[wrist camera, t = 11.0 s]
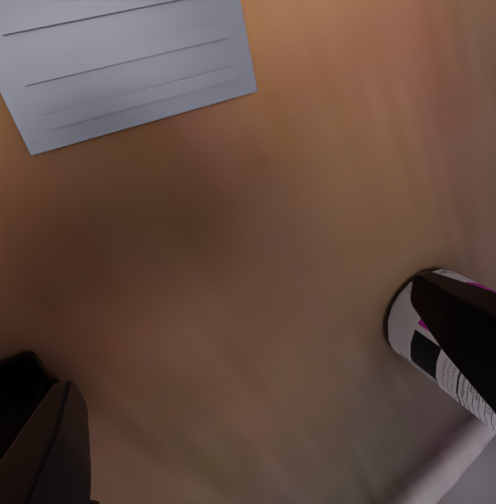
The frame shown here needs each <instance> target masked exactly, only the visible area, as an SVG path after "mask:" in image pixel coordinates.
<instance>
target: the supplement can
mask: <svg viewBox="0 0 496 504" xmlns="http://www.w3.org/2000/svg"><path fill="white" fill-rule="evenodd" d="M432 272H434V273H437V274H441V275H444V276H447V277H450V278H453V279H456V280H459V281H463V282H466V283H469V284H472V285H475V286H478V287H481V288H484V289H488V290H491V289H489V288H487V287H485V286H483V285H481V284H479V283H477V282H475V281H472V280H470V279H468V278H466V277H464V276H462V275H460V274H458V273H456V272H453V271H449V270H444V269H440V270H436V271H432ZM412 282H413V281H412ZM412 282H410V283H409V284H408V285H407V286H406V287H405V288H404V289H403V290H402V291H401V293H400V294H399V295H398V297H397V299H396V300H395V302H394V304H393V305H392V308H391V311H390V314H389V318H388V340H389V342H390V344H391V346H392V348H393V350H394V351H396V352H397V353H398V354H399V355H401V356H402V357H403V358H404V359H406V360H407V361H408V362H409V363H411V364H412V365H413V366H414V367H416V368H417V369H418V370H419V371H421V372H422V373H423V374H424V375H425V376H427V377H428V378H429V379H430V380H432V381H433V382H434V383H435V384H437V385H438V386H439V387H440V388H442V389H443V390H444V391H445V392H447V393H448V394H449V395H450V396H452V397H453V398H454V399H455V400H457V401H458V402H459V403H460V404H462V405H463V406H464V407H465V408H467V409H468V410H469V411H470V412H472V413H473V414H474V415H475V416H477V417H478V418H479V419H480V420H482V421H483V422H484V423H485V424H487V425H488V426H489V427H490V428H492V429H493V430H494V431H495V432H496V414H495V413H494V411H493V410H492V409H491V408H490V407H489V405H488V404H487V403H486V402H485V401H484V399H483V398H482V397H481V396H480V395H479V393H478V392H477V391H476V390H475V389H474V387H473V386H472V385H471V384H470V383H469V381H468V380H467V379H466V378H465V377H464V376H463V374H462V373H461V372H460V371H459V370H458V368H457V367H456V366H455V365H454V364H453V362H452V361H451V360H450V359H449V358H448V356H447V355H446V354H445V353H444V351H443V350H442V349H441V347H440V346H439V344H438V343H437V342H436V340H435V339H434V337H433V336H432V334H431V333H430V331H429V330H428V328H427V327H426V325H425V324H424V322H423V321H422V319H421V318H420V317H419V315H418V314H417V312H416V311H415V309H414V308H413V306H412V304H411V300H410V295H411V289H412ZM491 291H494V290H491ZM494 292H496V291H494Z"/></svg>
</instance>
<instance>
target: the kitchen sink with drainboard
mask: <svg viewBox="0 0 496 504" xmlns="http://www.w3.org/2000/svg"><path fill="white" fill-rule="evenodd" d="M253 92H257V86H256V81H255V76H254V70H253V65H252V60H251V54H250V49H249V44H248V39H247V33H246V28H245V23H244V17H243V12H242V7H241V2H240V0H0V93H1V95H2V97H3V99H4V101H5V103H6V105H7V107H8V109H9V111H10V113H11V115H12V117H13V120H14V122H15V124H16V126H17V128H18V130H19V132H20V134H21V136H22V138H23V140H24V142H25V144H26V146H27V148H28V150H29V152H30V154H31V156H32V155H35V154H39V153H42V152H46V151H49V150H53V149H56V148H60V147H63V146H67V145H70V144H74V143H77V142H81V141H84V140H88V139H91V138H95V137H98V136H102V135H105V134H109V133H112V132H116V131H119V130H123V129H126V128H130V127H134V126H137V125H141V124H144V123H148V122H151V121H155V120H158V119H162V118H165V117H169V116H172V115H176V114H179V113H183V112H186V111H190V110H193V109H197V108H200V107H204V106H207V105H211V104H214V103H218V102H221V101H225V100H228V99H232V98H236V97H239V96H243V95H246V94H250V93H253Z"/></svg>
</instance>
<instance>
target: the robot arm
mask: <svg viewBox="0 0 496 504" xmlns="http://www.w3.org/2000/svg"><path fill="white" fill-rule="evenodd" d="M410 300H411V304H412V306H413V308H414V309H415V311H416V312H417V314H418V315H419V317H420V318H421V319H422V321H423V322H424V324H425V325H426V327H427V328H428V330H429V331H430V333H431V334H432V336H433V337H434V339H435V340H436V342H437V343H438V344H439V346H440V347H441V349H442V350H443V351H444V353H445V354H446V355H447V356H448V358H449V359H450V360H451V361H452V362H453V364H454V365H455V366H456V367H457V368H458V370H459V371H460V372H461V373H462V374H463V376H464V377H465V378H466V379H467V380H468V381H469V383H470V384H471V385H472V386H473V387H474V389H475V390H476V391H477V392H478V393H479V395H480V396H481V397H482V398H483V399H484V401H485V402H486V403H487V404H488V405H489V407H490V408H491V409H492V410H493V411H494V413H495V414H496V292H494V291H491V290H488V289H484V288H481V287H478V286H475V285H472V284H469V283H466V282H463V281H459V280H456V279H453V278H450V277H447V276H444V275H441V274H437V273H434V272H431V271H426V272H423V273H419V274H416V275H415V276H414V278H413V282H412V289H411V295H410ZM25 360H28V361H30V363H28V364H24V363H22V361H25ZM90 491H91V462H90V445H89V428H88V412H87V406H86V402H85V400H84V398H83V397H82V395H81V393H80V391H79V390H78V388H77V386H76V384H75V383H74V382H73V381H72V380H68V381H64V382H61V383H60V381H59V380H57V379H55V378H52V379H51V377H50V376H49V374H48V373H47V371H46V370H45V368H44V367H43V365H42V363H41V362H40V360H39V359H38V357H37V356H36V355H35V354H34V353H32V352H23V353H20V354H18V355H16V356H13V357H11V358H8V359H6V360H3V361H1V362H0V504H99V502H98V501H95V500H90Z"/></svg>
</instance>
